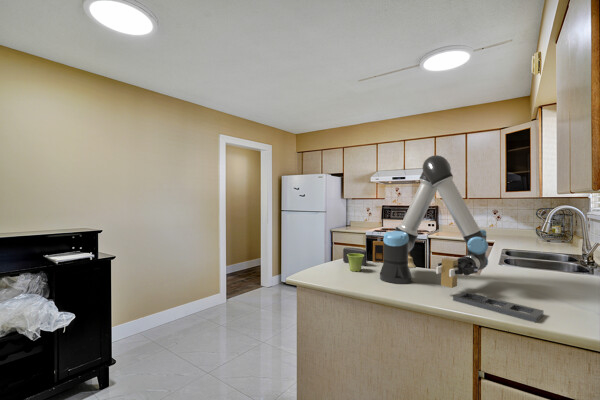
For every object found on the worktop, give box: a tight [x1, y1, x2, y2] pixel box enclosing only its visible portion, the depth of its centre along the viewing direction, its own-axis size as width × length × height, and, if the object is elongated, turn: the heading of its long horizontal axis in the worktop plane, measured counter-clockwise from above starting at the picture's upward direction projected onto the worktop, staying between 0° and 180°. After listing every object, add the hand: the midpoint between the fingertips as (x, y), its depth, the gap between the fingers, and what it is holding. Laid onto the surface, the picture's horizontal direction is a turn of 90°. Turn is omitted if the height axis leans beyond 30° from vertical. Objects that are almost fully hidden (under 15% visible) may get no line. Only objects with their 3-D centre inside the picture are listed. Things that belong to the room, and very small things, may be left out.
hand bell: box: [408, 251, 416, 269], centre depth 173 cm, size 8×8×16 cm
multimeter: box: [367, 230, 387, 263], centre depth 188 cm, size 15×10×20 cm
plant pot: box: [347, 253, 364, 273], centre depth 161 cm, size 9×9×9 cm
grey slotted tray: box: [452, 291, 544, 323], centre depth 108 cm, size 26×10×2 cm, turn 39°
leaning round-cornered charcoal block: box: [342, 247, 368, 267], centre depth 178 cm, size 16×5×9 cm, turn 48°
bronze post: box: [440, 257, 458, 289], centre depth 121 cm, size 4×4×11 cm
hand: (443, 271), depth 117 cm, fingers closed on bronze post, 4 cm apart
